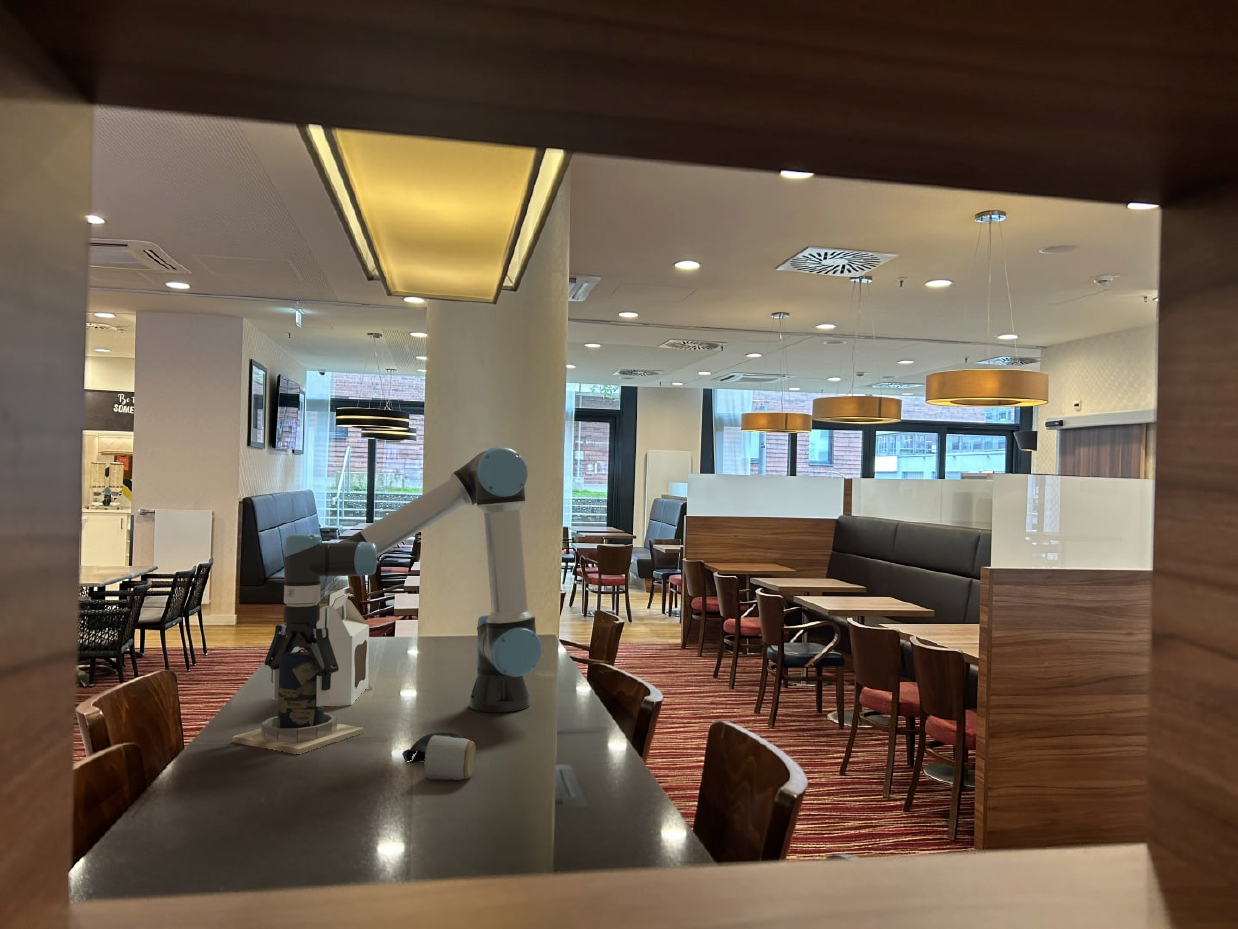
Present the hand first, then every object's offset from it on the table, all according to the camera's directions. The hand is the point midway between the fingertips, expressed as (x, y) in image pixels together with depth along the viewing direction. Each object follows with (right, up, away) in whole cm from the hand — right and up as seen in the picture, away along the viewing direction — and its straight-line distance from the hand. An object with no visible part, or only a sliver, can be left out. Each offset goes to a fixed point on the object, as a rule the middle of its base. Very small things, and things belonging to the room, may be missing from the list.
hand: (300, 702), depth 180 cm
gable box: (-6, -10, +38) cm, 40 cm away
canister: (0, -7, -1) cm, 7 cm away
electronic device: (+32, -8, -11) cm, 35 cm away
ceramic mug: (+38, -7, -26) cm, 47 cm away
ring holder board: (0, -8, 0) cm, 8 cm away
